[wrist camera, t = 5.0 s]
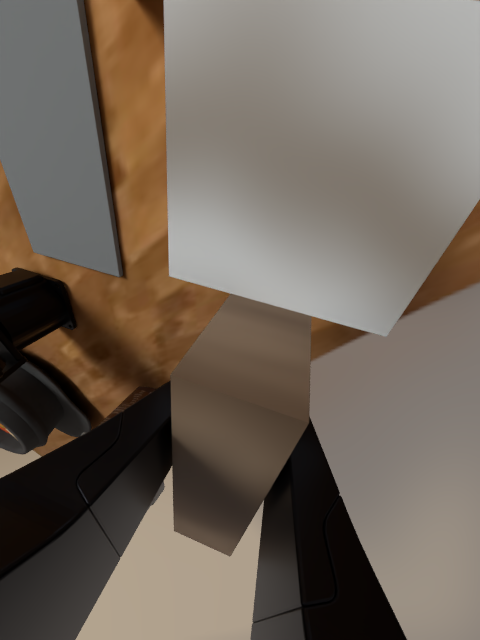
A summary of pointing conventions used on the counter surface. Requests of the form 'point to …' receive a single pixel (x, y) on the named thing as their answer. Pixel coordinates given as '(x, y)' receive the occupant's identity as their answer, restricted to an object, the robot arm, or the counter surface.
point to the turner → (301, 209)
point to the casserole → (35, 410)
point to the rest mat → (55, 133)
